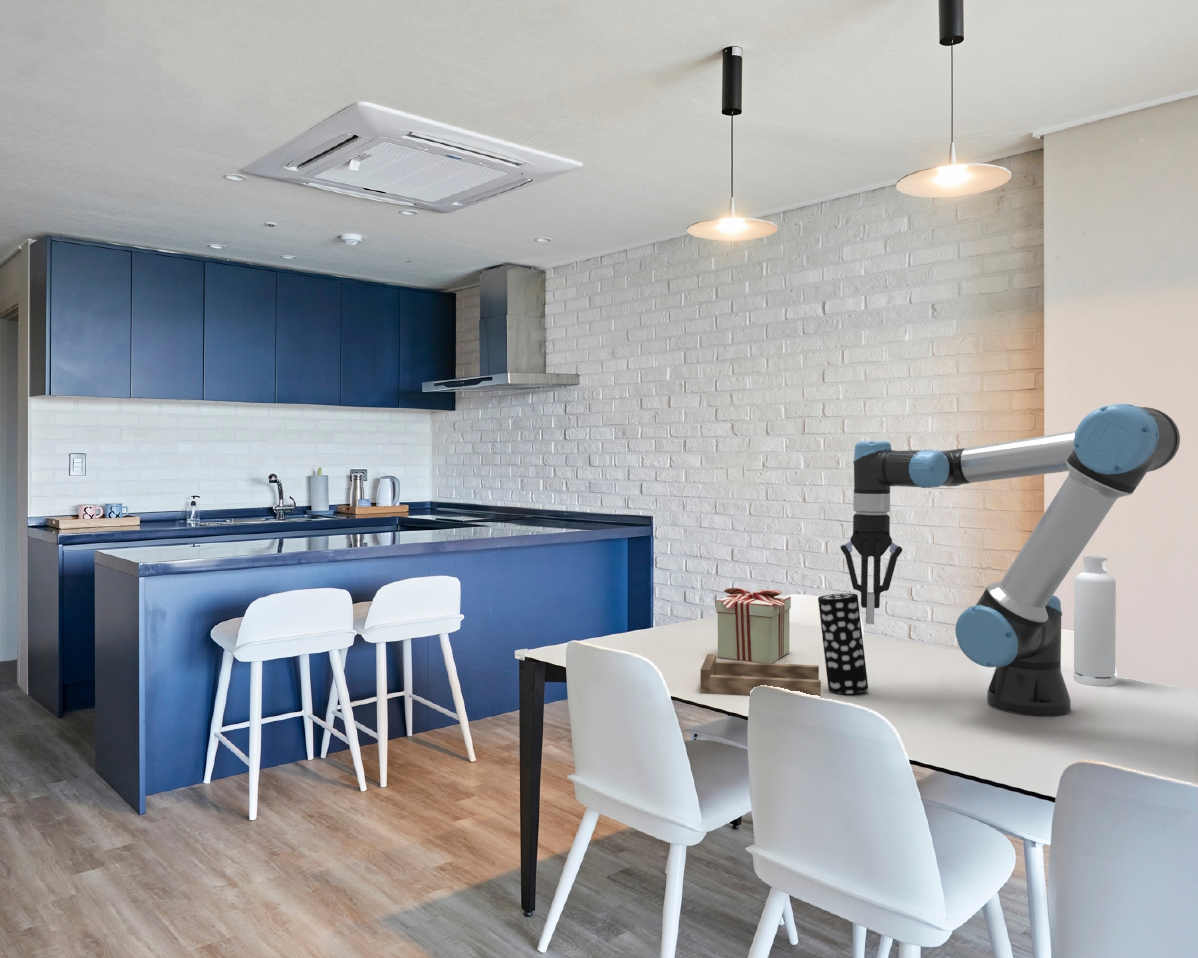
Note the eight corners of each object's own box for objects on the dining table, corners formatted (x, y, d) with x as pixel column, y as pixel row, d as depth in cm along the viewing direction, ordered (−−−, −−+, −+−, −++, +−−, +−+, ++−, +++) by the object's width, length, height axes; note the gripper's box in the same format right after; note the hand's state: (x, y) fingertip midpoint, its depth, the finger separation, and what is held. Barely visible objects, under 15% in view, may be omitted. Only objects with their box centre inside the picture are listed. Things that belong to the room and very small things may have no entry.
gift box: (711, 661, 221) (711, 592, 221) (733, 647, 238) (732, 583, 238) (778, 667, 214) (778, 596, 214) (796, 653, 231) (796, 587, 230)
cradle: (818, 680, 201) (818, 658, 200) (820, 698, 185) (820, 674, 185) (707, 675, 206) (707, 653, 206) (700, 692, 190) (700, 669, 190)
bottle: (1080, 675, 205) (1081, 554, 204) (1119, 681, 199) (1120, 556, 199) (1068, 681, 199) (1069, 557, 199) (1108, 688, 193) (1109, 559, 193)
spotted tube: (870, 692, 187) (859, 597, 187) (829, 694, 188) (818, 600, 188) (866, 682, 195) (855, 592, 195) (827, 685, 196) (817, 595, 197)
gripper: (901, 512, 192) (899, 621, 193) (839, 511, 195) (837, 618, 196) (905, 515, 185) (903, 627, 185) (840, 513, 188) (839, 624, 188)
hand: (869, 622), depth 191 cm, fingers closed
